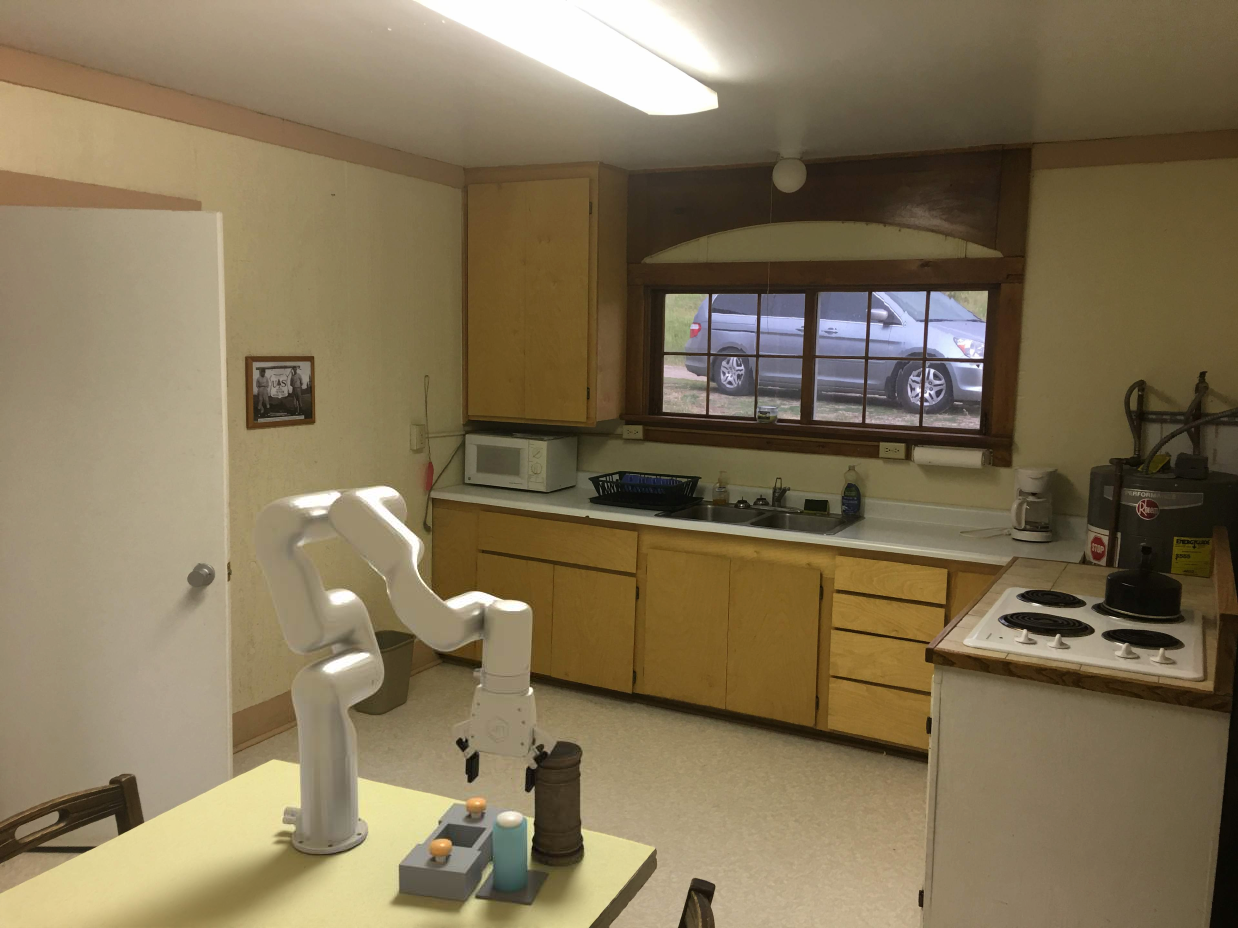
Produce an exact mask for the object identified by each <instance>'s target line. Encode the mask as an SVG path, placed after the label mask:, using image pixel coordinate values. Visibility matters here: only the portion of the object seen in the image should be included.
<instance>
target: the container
mask: <svg viewBox="0 0 1238 928" xmlns="http://www.w3.org/2000/svg"><path fill="white" fill-rule="evenodd" d="M556 741H557V743H556V745H555V747H554V748H553V750H552V752H551V753H550V755H549V756H548V757H547V759H546V760H544V761H543V762H542V763H541V764H539V775H538V783H537V785H536V786H534V787H533V789H534V819H533V823H532V824H533V836H532V838H531V848H530V852H531V855H532V857H533V858H534V859H535V861H537V862H538V863H541V864H543V865H547V866H553V867H557V866H559V867H561V866H563V867H564V866H568V865H572V864H575V863H576V862H579V860H581V859H582V857H583V855H584V853H585V845H584V843H583V842H584V836H583V834H582V819H581V776H582V772H581V770H580V765H581V763H582V757H583V749H582V747H581V746H580V745H578V744H576V743H574V742H571V741H564V740H556ZM534 747H535V748H536V749H537V751H538V752H539V753H540V752H541V751H543V749H544V744H542V743H540V744H538V745H535V746H534Z"/></svg>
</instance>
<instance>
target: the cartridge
mask: <svg viewBox="0 0 1238 928" xmlns="http://www.w3.org/2000/svg"><path fill="white" fill-rule="evenodd" d="M527 869H528V820H527V818H526V817H525V816H524V815H523V814H522V813H520V812H518V811H514V810H513V811H508V812H503V813H501V814H499V815H498V816H497V818H495V819H494V820H493V856H492V870H493V886H494V888H495V889H496V890H498V891H501V892H516V891H520V890H522V889H523V888H525V887H526V886H527V883H528V878H527Z"/></svg>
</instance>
